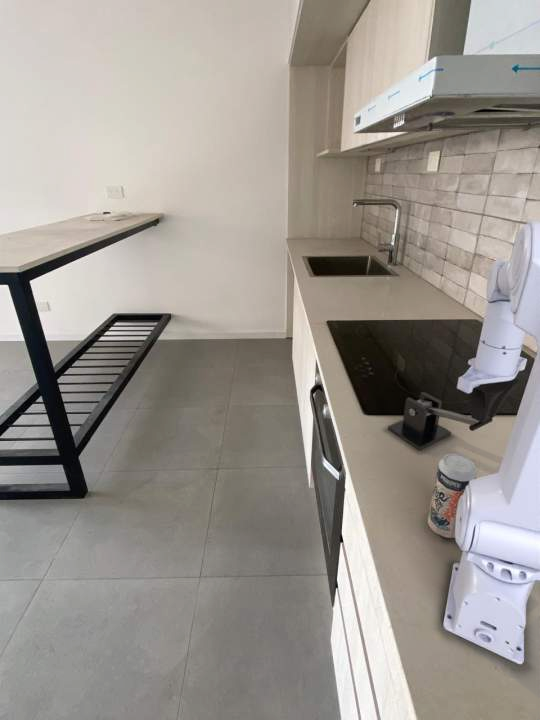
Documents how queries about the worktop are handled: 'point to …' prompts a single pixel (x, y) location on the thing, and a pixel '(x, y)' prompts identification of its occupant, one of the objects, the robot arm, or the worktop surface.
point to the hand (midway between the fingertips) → (482, 417)
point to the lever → (454, 416)
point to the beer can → (449, 492)
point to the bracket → (420, 424)
